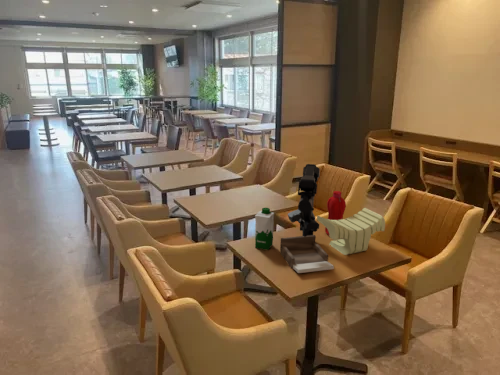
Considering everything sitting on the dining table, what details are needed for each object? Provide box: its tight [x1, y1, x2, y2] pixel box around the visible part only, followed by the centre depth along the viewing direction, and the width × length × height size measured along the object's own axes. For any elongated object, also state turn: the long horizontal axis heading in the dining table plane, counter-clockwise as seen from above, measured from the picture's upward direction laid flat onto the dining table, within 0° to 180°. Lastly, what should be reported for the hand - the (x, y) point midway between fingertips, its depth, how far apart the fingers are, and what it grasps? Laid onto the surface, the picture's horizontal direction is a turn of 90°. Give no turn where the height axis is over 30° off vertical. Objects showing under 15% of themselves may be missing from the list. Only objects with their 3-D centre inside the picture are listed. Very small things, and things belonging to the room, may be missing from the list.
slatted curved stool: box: [316, 207, 386, 256], centre depth 193 cm, size 30×16×18 cm, turn 113°
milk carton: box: [254, 207, 275, 251], centre depth 194 cm, size 9×9×20 cm
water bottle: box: [324, 190, 347, 236], centre depth 209 cm, size 9×11×25 cm
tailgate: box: [292, 260, 335, 274], centre depth 172 cm, size 2×17×7 cm
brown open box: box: [279, 234, 329, 269], centre depth 183 cm, size 17×18×8 cm
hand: (304, 236), depth 180 cm, fingers closed
